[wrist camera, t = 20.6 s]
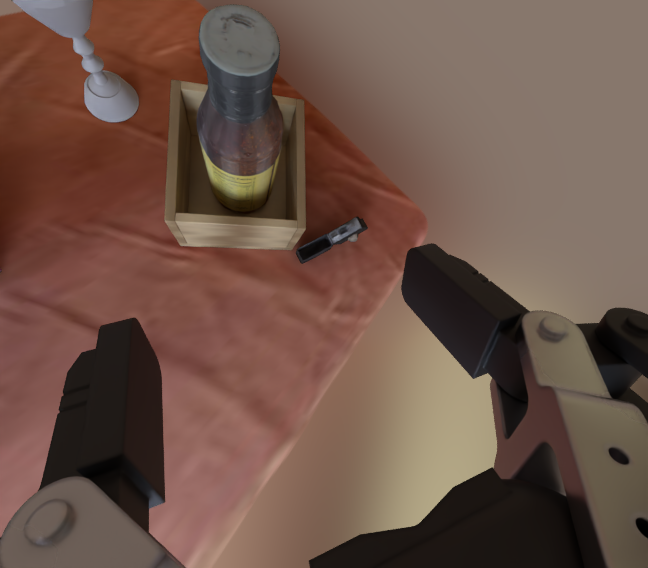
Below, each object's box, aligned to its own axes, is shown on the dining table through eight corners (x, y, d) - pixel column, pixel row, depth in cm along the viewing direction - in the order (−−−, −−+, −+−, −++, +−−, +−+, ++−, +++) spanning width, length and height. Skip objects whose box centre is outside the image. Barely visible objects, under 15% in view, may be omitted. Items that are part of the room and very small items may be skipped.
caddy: (180, 245, 34) (164, 221, 27) (184, 132, 36) (170, 78, 29) (291, 250, 37) (306, 229, 30) (291, 145, 39) (304, 99, 31)
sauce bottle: (236, 150, 36) (235, -49, 17) (282, 187, 37) (330, 34, 18) (196, 193, 35) (147, 24, 16) (245, 231, 35) (255, 113, 16)
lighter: (311, 266, 40) (298, 270, 35) (303, 251, 40) (288, 253, 35) (370, 233, 38) (365, 232, 33) (362, 217, 38) (355, 214, 33)
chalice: (129, 143, 35) (23, -45, 17) (60, 113, 33) (-129, -122, 16) (159, 86, 36) (89, -137, 19) (94, 56, 35) (-45, -213, 18)
